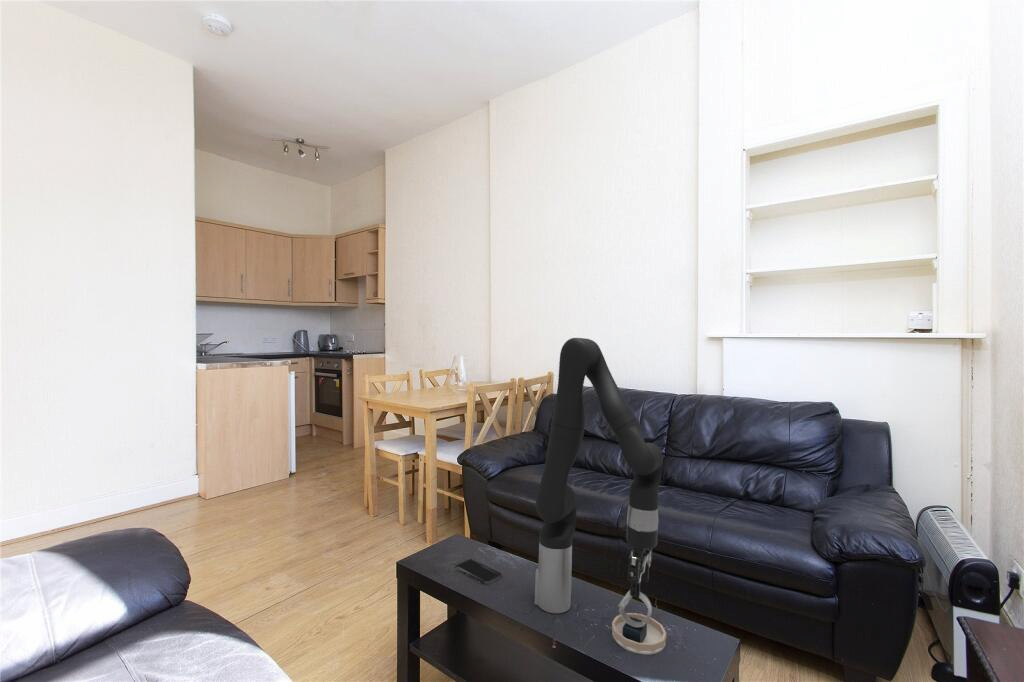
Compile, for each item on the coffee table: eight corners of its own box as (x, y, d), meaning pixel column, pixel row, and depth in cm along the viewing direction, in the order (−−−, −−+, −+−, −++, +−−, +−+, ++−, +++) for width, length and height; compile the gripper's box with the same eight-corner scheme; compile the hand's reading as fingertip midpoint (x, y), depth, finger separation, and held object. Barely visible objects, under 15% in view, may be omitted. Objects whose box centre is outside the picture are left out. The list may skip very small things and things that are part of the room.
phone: (485, 583, 134) (453, 565, 145) (485, 587, 134) (453, 569, 145) (503, 574, 140) (471, 558, 150) (503, 578, 140) (471, 561, 150)
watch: (622, 625, 115) (623, 582, 116) (653, 637, 111) (654, 592, 111) (614, 637, 111) (615, 592, 111) (647, 649, 106) (648, 603, 106)
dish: (605, 642, 110) (605, 632, 110) (621, 616, 121) (621, 607, 121) (658, 661, 103) (659, 651, 103) (670, 632, 114) (670, 623, 114)
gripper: (635, 512, 121) (632, 572, 120) (619, 529, 108) (615, 596, 108) (663, 518, 117) (661, 581, 117) (650, 537, 105) (647, 607, 104)
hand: (639, 588), depth 112 cm, fingers open, 8 cm apart
